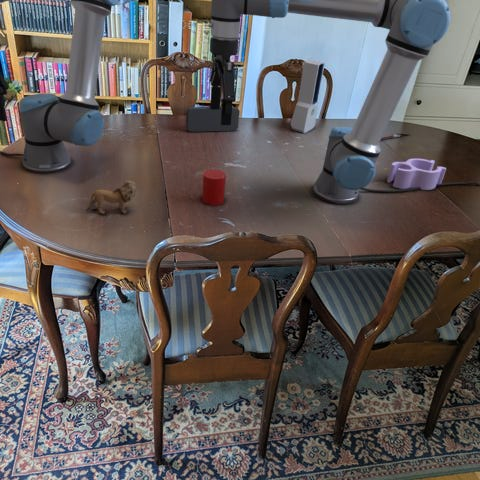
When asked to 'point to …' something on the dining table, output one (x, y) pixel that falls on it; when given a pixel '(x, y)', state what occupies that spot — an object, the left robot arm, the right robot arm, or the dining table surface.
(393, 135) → the sword
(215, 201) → the canister
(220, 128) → the dark grey rectangular block
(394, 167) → the clip
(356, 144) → the right robot arm
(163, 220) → the dining table surface
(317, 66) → the electronic device
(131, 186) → the lion figurine
